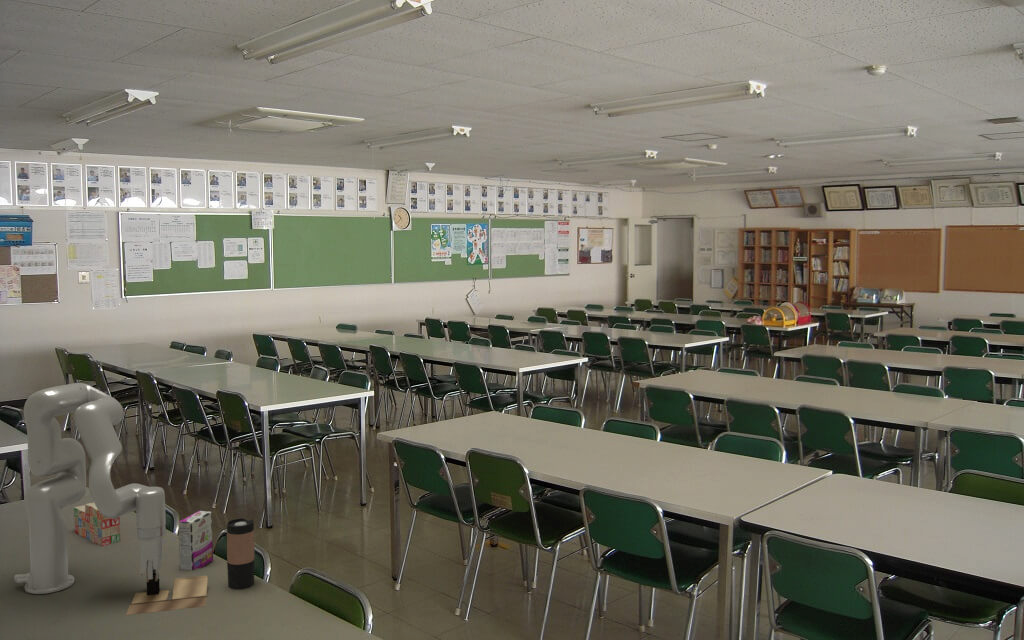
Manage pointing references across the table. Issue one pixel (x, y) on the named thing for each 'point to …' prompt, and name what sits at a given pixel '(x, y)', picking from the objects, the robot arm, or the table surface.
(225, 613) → the table surface
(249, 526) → the travel mug
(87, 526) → the stack of blocks
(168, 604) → the laid board
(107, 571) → the table surface
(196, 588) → the plank
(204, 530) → the candy bar box
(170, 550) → the table surface
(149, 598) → the plank
